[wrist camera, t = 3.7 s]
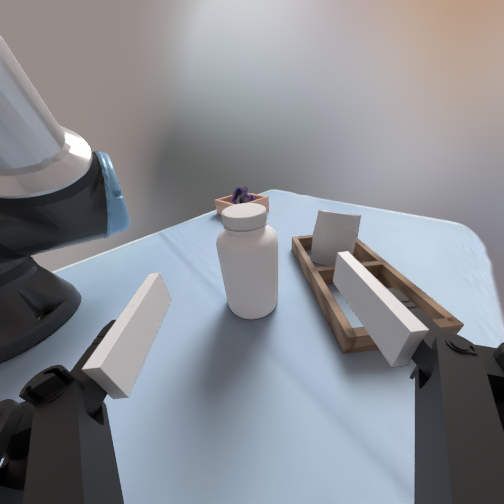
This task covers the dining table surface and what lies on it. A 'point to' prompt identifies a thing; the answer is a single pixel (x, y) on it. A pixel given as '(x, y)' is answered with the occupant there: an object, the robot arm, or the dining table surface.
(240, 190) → the flower
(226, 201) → the flower planter
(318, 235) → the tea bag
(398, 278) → the slot rack
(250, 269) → the pill bottle
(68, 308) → the robot arm
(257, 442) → the dining table surface
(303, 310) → the dining table surface
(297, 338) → the dining table surface
